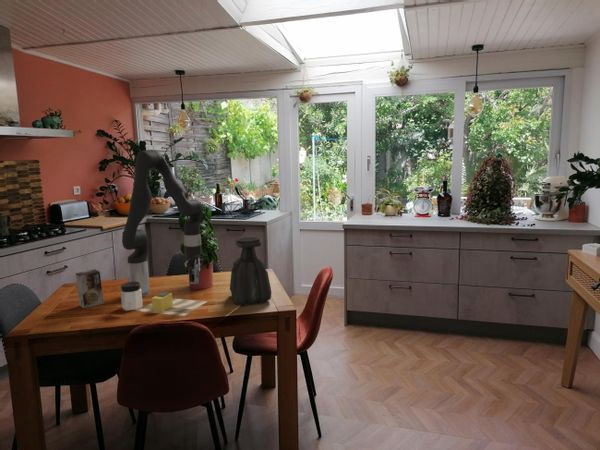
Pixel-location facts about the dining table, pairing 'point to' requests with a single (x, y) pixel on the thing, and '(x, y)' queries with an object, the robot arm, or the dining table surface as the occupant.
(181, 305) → the panel
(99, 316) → the dining table surface
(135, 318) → the dining table surface
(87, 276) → the coffee box
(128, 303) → the jar
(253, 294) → the dark grey vase
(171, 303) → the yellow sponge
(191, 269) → the peg
